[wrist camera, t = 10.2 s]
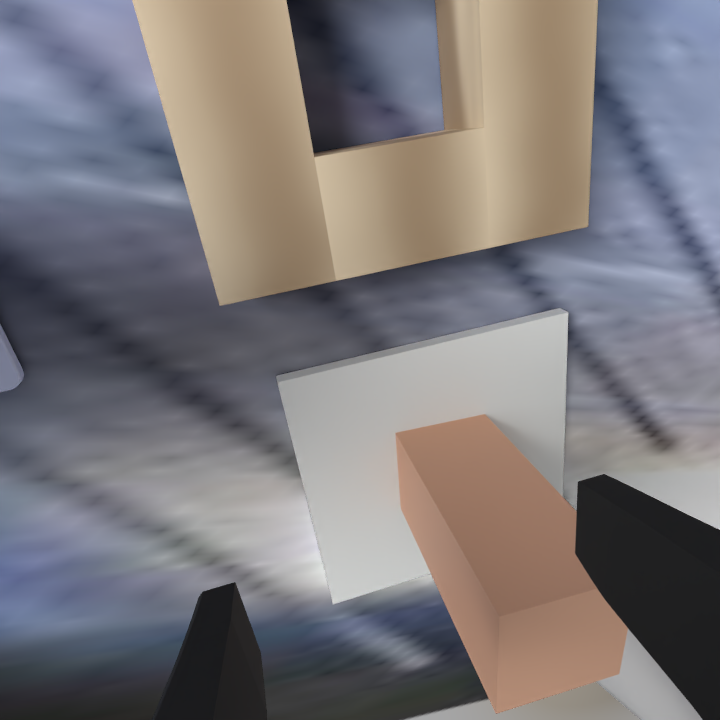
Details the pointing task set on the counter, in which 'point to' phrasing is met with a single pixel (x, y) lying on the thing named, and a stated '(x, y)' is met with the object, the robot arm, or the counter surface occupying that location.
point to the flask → (647, 687)
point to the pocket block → (373, 160)
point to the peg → (505, 562)
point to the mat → (410, 411)
